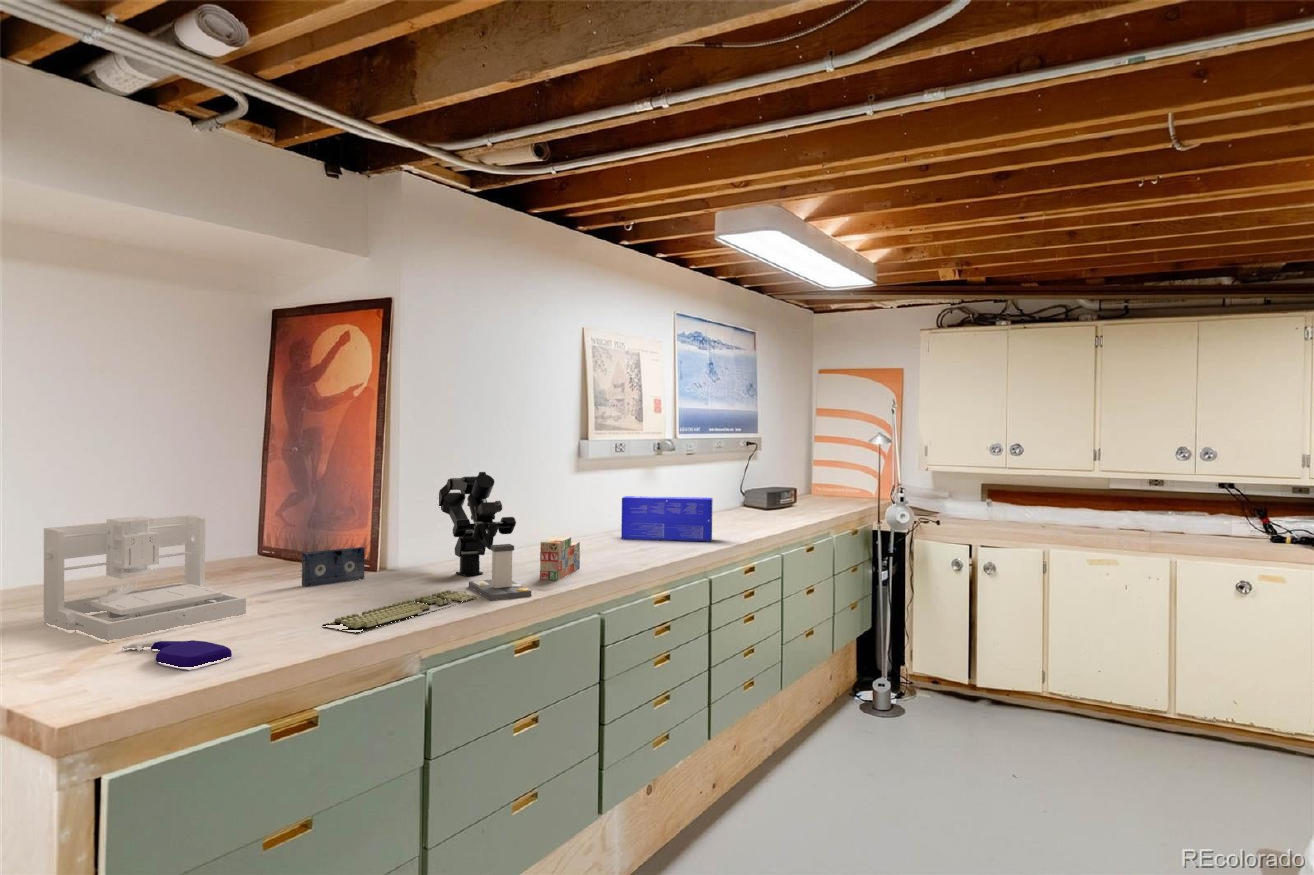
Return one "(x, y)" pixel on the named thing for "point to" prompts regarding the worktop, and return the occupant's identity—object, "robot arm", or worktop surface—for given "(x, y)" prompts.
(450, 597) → the keyboard
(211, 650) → the dark purple flat pad
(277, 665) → the worktop surface
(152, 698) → the worktop surface
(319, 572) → the vhs cassette tape
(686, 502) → the toner cartridge box
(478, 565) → the robot arm
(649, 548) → the worktop surface
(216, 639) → the worktop surface
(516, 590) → the switch panel
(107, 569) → the 3d printer
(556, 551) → the stack of blocks
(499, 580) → the lever
